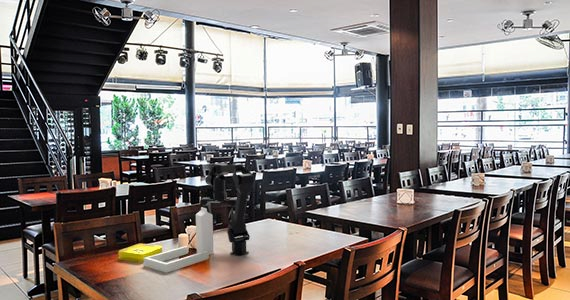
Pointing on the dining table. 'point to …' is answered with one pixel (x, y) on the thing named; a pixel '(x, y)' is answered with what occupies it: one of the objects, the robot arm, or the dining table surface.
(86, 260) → the dining table surface
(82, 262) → the dining table surface
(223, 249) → the dining table surface
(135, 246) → the element tile
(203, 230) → the milk
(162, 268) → the u rest
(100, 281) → the dining table surface
